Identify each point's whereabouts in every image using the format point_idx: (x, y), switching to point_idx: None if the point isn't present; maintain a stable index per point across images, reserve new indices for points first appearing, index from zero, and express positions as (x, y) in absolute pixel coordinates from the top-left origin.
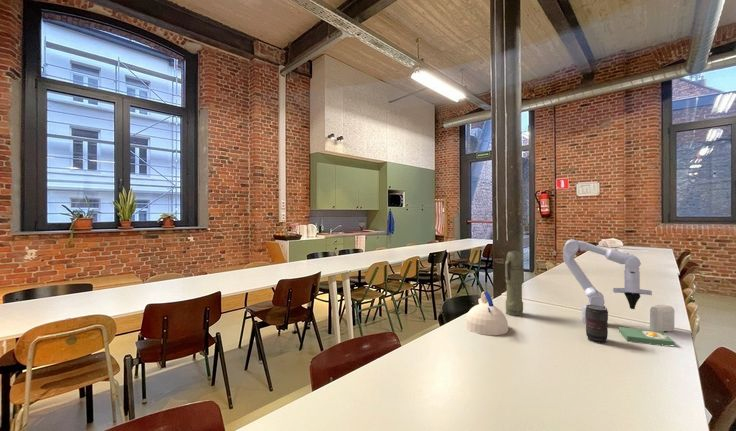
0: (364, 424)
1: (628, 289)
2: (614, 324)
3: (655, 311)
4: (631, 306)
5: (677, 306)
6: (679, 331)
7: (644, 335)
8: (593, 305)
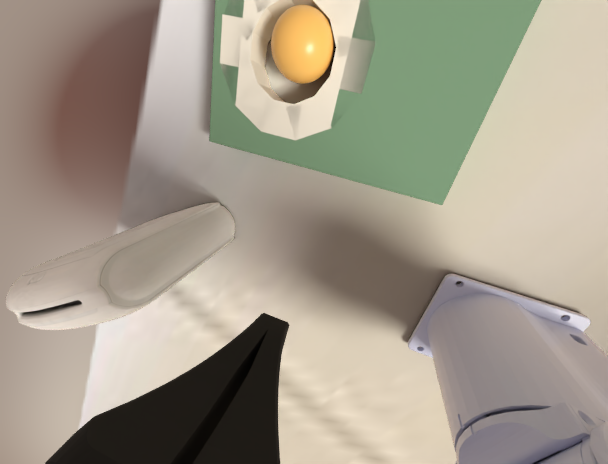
0: None
1: None
2: (369, 310)
3: (128, 260)
4: (279, 339)
5: (83, 418)
6: (133, 224)
7: (371, 13)
8: None
